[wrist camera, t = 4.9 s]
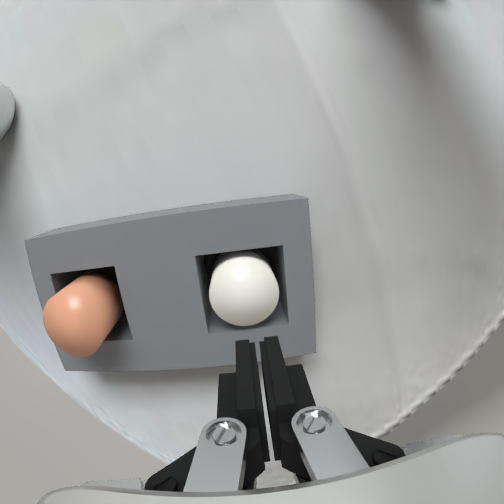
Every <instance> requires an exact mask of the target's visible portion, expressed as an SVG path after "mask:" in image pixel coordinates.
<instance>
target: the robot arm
mask: <svg viewBox="0 0 504 504" xmlns="http://www.w3.org/2000/svg"><path fill="white" fill-rule="evenodd" d="M259 345H260V354H261V362H262V371H263V379H264V388H265V396H266V403H267V410H268V417H269V423H270V430H271V437H272V444H273V450H274V457H275V461H276V460H281V464H282V467H283V468H285V469H287V470H289V471H291V472H293V474H294V479H295V481H296V484H293V485H287V486H279V487H272V488H263V489H256V485H257V480H256V478H257V477H258V476H259V475H260V474H261V473H262V472H263V471H264V470H265V463H264V462H268V461H270V456H269V448H268V441H267V433H266V426H265V418H264V410H263V402H262V395H261V387H260V379H259V372H258V364H257V356H256V348H255V342H251V343H249V339H246V340H237V341H235V349H236V373H226V374H219V386H218V407H217V419H215V420H212V421H211V422H209V423H207V424H206V425H205V426H204V427H203V429H202V431H201V434H200V438H199V441H198V444H197V446H196V447H195V448H193V449H192V450H190V451H189V452H187V453H186V454H184V455H183V456H181V457H180V458H178V459H177V460H175V461H174V462H172V463H171V464H169V465H168V466H166V467H165V468H164V469H162V470H160V471H158V472H157V473H155V474H154V475H152V476H151V477H150V478H149V479H148V480H144V481H142V480H141V479H140V478H137V479H126V480H111V481H91V482H86V483H84V484H83V485H81V486H74V487H66V488H60V489H57V490H53V491H51V492H49V493H47V494H46V495H44V496H43V497H42V498H41V499H40V500H39V502H38V503H37V504H504V435H502V434H497V433H480V434H472V435H467V436H463V435H459V434H458V435H457V434H456V435H450V436H445V437H441V438H436V439H431V440H426V441H420V442H415V443H409V444H406V446H405V447H399V446H397V445H394V444H391V443H389V442H385V441H382V440H379V439H376V438H373V437H370V436H367V435H364V434H361V433H358V432H355V431H352V430H349V429H347V428H344V427H343V426H342V424H341V423H340V421H339V420H338V418H337V416H336V415H335V414H334V413H333V412H332V411H331V410H329V409H327V408H325V407H321V406H316V404H315V401H314V398H313V395H312V393H311V390H310V387H309V384H308V381H307V378H306V375H305V372H304V369H303V366H302V364H298V365H291V366H285V362H284V358H283V354H282V350H281V346H280V343H279V339H278V336H270V337H264V341H259Z"/></svg>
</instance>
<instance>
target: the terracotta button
mask: <svg viewBox="0 0 504 504" xmlns="http://www.w3.org/2000/svg"><path fill="white" fill-rule="evenodd" d="M122 312H123V301H122V297H121V293H120V290H119V288H118V287H117V285H116V284H115V283H114V282H113V281H112V280H111V279H110V278H109V277H107V276H105V275H104V274H101V273H98V272H87V273H84V274H82V275H81V276H79V277H78V278H77V279H75V280H74V281H73V282H71V283H70V284H69V285H67V286H66V287H65V288H63V289H62V290H61V291H59V292H58V293H57V294H55V295H54V296H53V297H51V298H50V299H49V300H48V301H47V303H46V305H45V307H44V311H43V321H44V326H45V329H46V331H47V333H48V335H49V337H50V338H51V340H52V341H53V342H54V343H55V344H56V346H58V347H59V348H60V349H61V350H62V351H64V352H66V353H67V354H70V355H72V356H76V357H87V356H90V355H92V354H94V353H95V352H96V351H97V349H98V348H99V347H100V345H101V344H102V342H103V341H104V339H105V338H106V337H107V335H108V334H109V332H110V331H111V330H112V328H113V327H114V325H115V324H116V323H117V321H118V320H119V318H120V317H121V315H122Z"/></svg>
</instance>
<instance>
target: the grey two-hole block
mask: <svg viewBox="0 0 504 504" xmlns="http://www.w3.org/2000/svg"><path fill="white" fill-rule="evenodd" d="M25 245H26V250H27V254H28V259H29V263H30V267H31V271H32V275H33V279H34V283H35V286H36V290H37V293H38V297H39V300H40V303H41V307H42V310H43V311H44V307H45V305H46V303H47V301H48V300H49V299H50V298H51V297H53V296H54V295H55V294H57V293H58V292H59V291H61V290H62V289H63V288H65V287H66V286H67V285H69V284H70V283H71V282H73V281H74V280H75V279H77V278H78V277H79V276H81V273H80V270H86V269H94V268H102V267H110V266H114V267H115V271H116V276H117V280H118V285H119V289H120V293H121V297H122V301H123V305H124V309H125V312H126V315H121V317H120V318H119V320H118V321H117V323H116V324H115V325H114V327H113V328H112V330H111V331H110V332H109V334H108V335H107V337H106V338H105V339H104V341H103V342H102V344H101V345H100V347H99V348H98V349H97V351H96V352H95V353H94V354H92V355H90V356H87V357H76V356H72V355H70V354H67V353H66V352H64V351H62V350H61V349H60V348H59V347H58V346H56V344H55V343H54V344H55V347H56V349H57V352H58V354H59V357H60V359H61V362H62V364H63V366H64V369H65V370H66V371H157V370H176V369H191V368H204V367H216V366H226V365H235V364H236V349H235V341H237V340H246V339H249V343H251V342H255V348H256V356H257V362H260V361H261V354H260V345H259V341H264V337H270V336H278V339H279V343H280V346H281V350H282V354H283V358H288V357H294V356H300V355H306V354H312V353H316V337H315V304H314V280H313V261H312V245H311V230H310V217H309V205H308V198H305V197H302V196H298V195H295V194H290V195H280V196H270V197H261V198H252V199H243V200H235V201H226V202H218V203H211V204H203V205H196V206H188V207H181V208H174V209H167V210H161V211H154V212H148V213H142V214H135V215H129V216H123V217H117V218H112V219H106V220H100V221H95V222H89V223H84V224H79V225H74V226H68V227H63V228H58V229H54V230H51V231H48V232H45V233H43V234H40V235H37V236H35V237H32V238H29V239H27V240H25ZM272 246H274V248H275V259H276V270H277V281H278V287H279V299H278V303H277V305H276V307H275V309H274V311H273V312H272V313H271V314H270V315H269V316H268V317H267V318H266V319H265V320H263V321H261V322H259V323H257V324H254V325H250V326H238V325H233V324H230V323H228V322H226V321H224V320H223V319H221V318H220V317H219V316H218V315H217V314H216V313H215V311H214V310H213V308H212V306H211V303H210V299H209V287H208V281H207V275H206V268H205V262H204V255H206V254H215V253H223V252H231V251H239V250H247V249H255V248H264V247H272Z"/></svg>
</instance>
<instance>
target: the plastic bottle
mask: <svg viewBox="0 0 504 504" xmlns="http://www.w3.org/2000/svg"><path fill="white" fill-rule="evenodd" d="M14 112H15V101H14V97H13V93H12V91H11V90H10V89H9V88H8V87H7V86H5V85H4V84H2V83H1V82H0V139H1V138H2V137H3V136H4V135H5V134H6V132H7V131H8V129H9V128H10V126H11V123H12V121H13V117H14Z"/></svg>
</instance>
